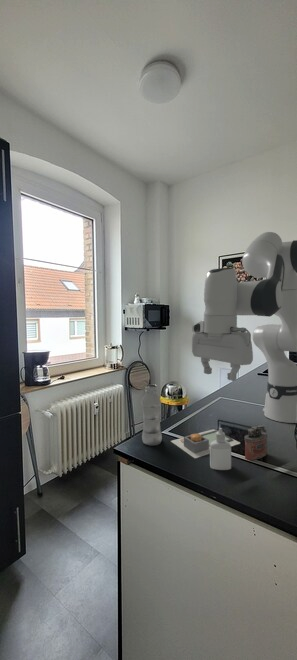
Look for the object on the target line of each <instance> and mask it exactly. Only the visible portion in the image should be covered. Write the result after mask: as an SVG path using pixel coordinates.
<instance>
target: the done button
mask: <svg viewBox="0 0 297 660" xmlns="http://www.w3.org/2000/svg"><path fill="white" fill-rule="evenodd" d="M190 435H191V440H192V441H193V442H199V441H202V436H201V435H200V434H197V433H192V434H190Z"/></svg>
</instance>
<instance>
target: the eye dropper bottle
mask: <svg viewBox="0 0 297 660" xmlns="http://www.w3.org/2000/svg"><path fill="white" fill-rule="evenodd" d="M217 431H218V432H216V440H215V441H212V442H211V443H210V454H209V466H210V469H212V470H218V471H228V470H232V446H231V445H230V443H229V442H227V441H225V435H226V434H225V432H224V431H223V428H222V427H218V430H217Z"/></svg>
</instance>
